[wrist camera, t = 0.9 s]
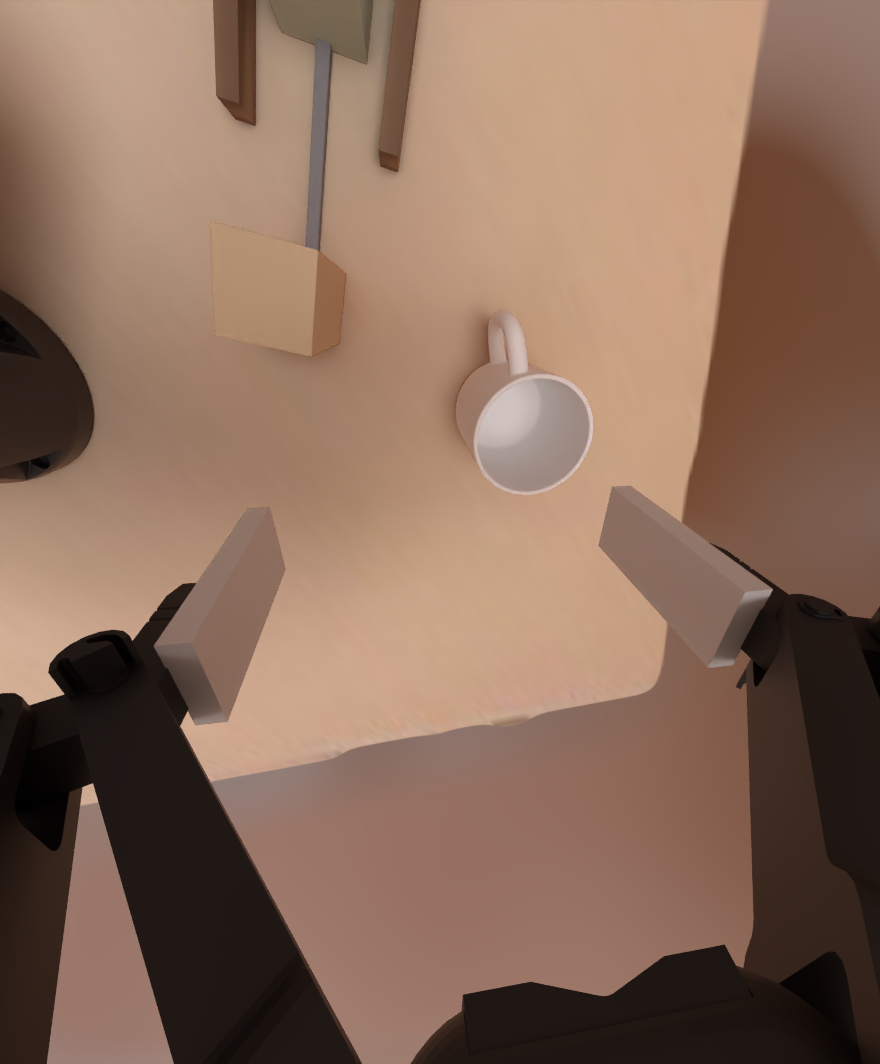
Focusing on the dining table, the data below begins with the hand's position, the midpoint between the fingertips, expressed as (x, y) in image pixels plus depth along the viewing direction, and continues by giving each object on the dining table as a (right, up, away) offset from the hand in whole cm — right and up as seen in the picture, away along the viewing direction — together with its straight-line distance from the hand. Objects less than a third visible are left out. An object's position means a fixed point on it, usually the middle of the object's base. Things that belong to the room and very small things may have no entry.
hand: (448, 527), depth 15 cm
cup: (+5, +13, +19) cm, 23 cm away
